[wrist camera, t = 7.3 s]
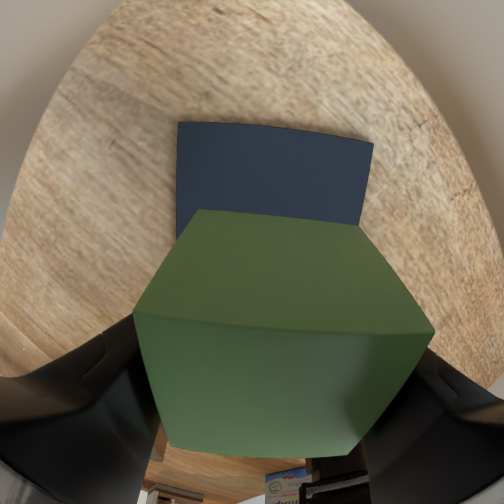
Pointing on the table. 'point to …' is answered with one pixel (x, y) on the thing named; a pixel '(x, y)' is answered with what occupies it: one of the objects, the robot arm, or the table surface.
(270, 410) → the green block
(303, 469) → the medicine box
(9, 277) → the table surface
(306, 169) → the mat
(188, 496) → the display case
